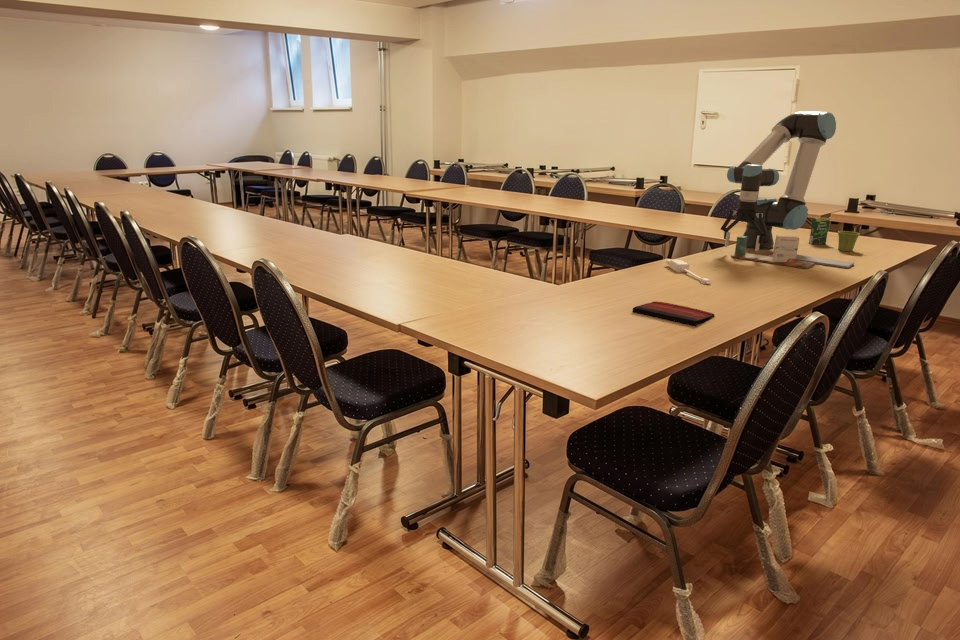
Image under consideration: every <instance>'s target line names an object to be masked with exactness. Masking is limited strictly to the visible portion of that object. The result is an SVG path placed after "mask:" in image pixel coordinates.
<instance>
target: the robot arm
mask: <svg viewBox="0 0 960 640" xmlns="http://www.w3.org/2000/svg"><path fill="white" fill-rule="evenodd" d="M836 130H837V120H836V118H835V116H834V115H833V113H831V112H829V111H795V112H793V113H790V114H789V115H787V116H785V117H784V118H782V119H781V120H779V121H778V122H777V123H776V124H775V125H774V126H773V127H772V128H771V132H770V133H769V134H768V135H767V136H766V137H765V138H764V140H763V141H761V142H760V143H759V144H758V146H757V147H755V149H753V150H752V151H751V153H750V154H748V156H747V157H746V158H744V159H743V161H742V162H741V163H740V164H739V165H732V166H730V167H729V168H728V170H727V172H726V178H727V180H728V181H729V182H730V183H733V184H734V183H735V184H741V186H740V193H739V201H738V207H737V210H735V209H732V210H730V211H729V215H728V216H727V218H726V219H725V221H724V222H723V224H722V226H721V227H720V230H721V231H723V233H724V234H723V239H724V240H725V242H724V247H725V248H726V247H729V245H730V238H731V237H730V236H731V231H730V230H732V228H734V227H735V226H736V225H737V224H738V223H739V222H742V223H743V222H745V223H746V228H745V230H744V233H743V234H742V236H748V239H747V246H746V248H752V249H753V248H754V251H755V252H758V251H760V249H772V248H773V249H774V245H775V241H774V237H773V228H778V229H783V230H792V231H795V230H798V229H800V228H801V227H803V225H804V224H805V223H806V221H807V219H808V216H809V213H808V211H809V208H808V207H807V206H806V204H807V202H806V200H805V196H806V193H807V190H808V186H809V183H810V180H811V177H812V174H813V171H814V167H815V165H816V162H817V158H818V156H819V152H820V149H821V147H823V146H824V145H826V143H827V140H830V139H832V138H833V137H834V136H835V133H836ZM795 138H798V142H799V143H800V144H799V148H798V151H797V153H796V157H795V160H794V163H793V165H792V168H791V171H790V175H789V178H788V181H787V184H786V188H785V191H784V194H783V195H781V196H779V198H778V200H777V198H774V197H770V198H769V197H767V198H759V194H760V193H759V192H760V187H771V186H775V185H776V184H778V182H779V180H780V173H779V171H778V170H777V169H775V168H770V167H769V168H764V167H763V165H764V164H765V163H766V162H767V161H768V160H769V159H770V158H771V156H773V154H774V153H776V151H778V149H779V148H781V146H782V145H784V144H786V143H788V142H790V140H792V139H795ZM735 215H736V216H737V217H736V219H735V220H734V221H733V222H732V223H730V222H731V221H732V219H733V217H734V216H735ZM729 223H730V224H729Z"/></svg>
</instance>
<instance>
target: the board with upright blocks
mask: <svg viewBox="0 0 960 640" xmlns="http://www.w3.org/2000/svg"><path fill="white" fill-rule="evenodd" d="M747 239H748V236H743V235H739V236H736V243H735V250H734V254H731V255H730V258H734V259H741V260H746V261H755V262H761V263H767V264H774V265H780V266H787V267H794V268H801V269H809V268H812V267H813V266H815V265H816V264H815V263H812V262H805V261H798V260H796V261H795V263H791V262H775V261H773V257H771V256H770V255H762V254H756V253H748V252H747V251H746V250H747V247H746V246H747Z"/></svg>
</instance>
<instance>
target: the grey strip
mask: <svg viewBox="0 0 960 640" xmlns="http://www.w3.org/2000/svg"><path fill="white" fill-rule="evenodd" d="M775 241H776V238H775ZM775 241H774V242H775ZM774 247H775V244H774V245H773V248H774ZM773 253H774V251H773V252H772V254H769V256H771V257H773ZM796 260H798V261H805V262H812V263H815V265H816V264H817V265H822V266H828V267H829V266H830V267H837V268H844V269H850V268H851V267H852V266H854V265H855V262H851V261H846V260H840V259H839V260H838V259H832V258H825V257H817V256H811V255H804V254H797V256H796Z"/></svg>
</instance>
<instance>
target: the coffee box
mask: <svg viewBox="0 0 960 640" xmlns="http://www.w3.org/2000/svg"><path fill="white" fill-rule="evenodd" d="M830 220H831V219H830V218H829V217H812V222H811V228H810V233H809V240H808V244H810V245H826V244H827V243H826V242H827V238H828V232H829V226H830Z"/></svg>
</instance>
